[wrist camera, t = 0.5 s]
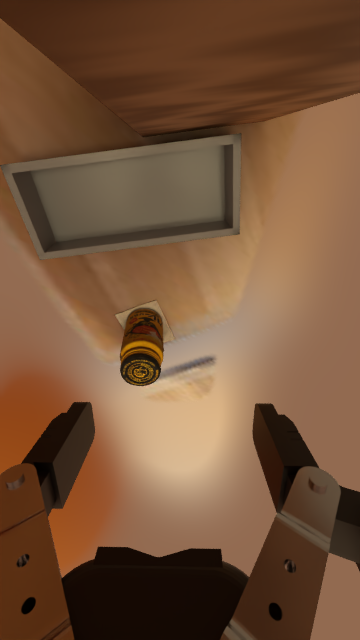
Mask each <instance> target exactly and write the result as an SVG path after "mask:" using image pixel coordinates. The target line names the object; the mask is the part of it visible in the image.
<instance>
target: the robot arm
mask: <svg viewBox="0 0 360 640" xmlns="http://www.w3.org/2000/svg"><path fill="white" fill-rule="evenodd" d="M94 434H95V426H94V419H93V412H92V405H91V403H90V402H74V403H73V404H72V405H71V407H70V408H69V410H68V411H67V413H61V414H60V415H58V416H57V417H56V418H55V419H53V420H52V421H51V423H50V424H49V426H48V427H47V428H46V430H45V431H44V432H43V434H42V435H41V438H39V439H38V441H37V442H36V443H35V445H34V446H33V448H32V449H31V450H30V452H29V453H28V455H27V456H26V457H25V459H24V460H23V461H22V463H21V464H19V465H15V466H13V467H11V468H9V469H7V470H6V471H4V472H3V473H2V474H1V475H0V640H310V636H311V632H312V628H313V623H314V618H315V614H316V609H317V604H318V600H319V595H320V590H321V585H322V581H323V576H324V572H325V567H326V562H327V557H328V553H332V554H335V555H338V556H340V557H343V558H346V559H348V560H351V561H354V562H356V564H357V566H358V569H359V571H360V492H358V491H354V490H351V489H347V488H344V487H342V486H340V485H338V483H337V481H336V480H335V479H334V478H333V477H332V476H331V475H330V474H329V473H327V472H326V471H324V470H322V469H320V468H319V467H318V465H317V463H316V461H315V460H314V458H313V456H312V454H311V453H310V451H309V449H308V447H307V446H306V444H305V442H304V441H303V439H302V437H301V435H300V433H298V430H297V428H296V426H295V425H294V423H293V422H292V421H291V420H290V419H289V418H288V417H286V416H285V415H278V414H277V412H276V410H275V408H274V406H273V404H255V410H254V421H253V440H254V445H255V448H256V451H257V454H258V457H259V460H260V463H261V466H262V469H263V472H264V475H265V478H266V481H267V485H268V487H269V490H270V494H271V497H272V500H273V503H274V506H275V509H276V512H277V515H276V517H275V519H274V522H273V524H272V526H271V529H270V531H269V533H268V535H267V538H266V540H265V542H264V545H263V547H262V549H261V552H260V554H259V557H258V559H257V561H256V563H255V566H254V568H253V570H252V573H251V575H250V577H248V576H247V575H246V574H245V573H244V572H242V571H241V570H239V569H238V568H236V567H235V566H233V565H231V564H229V563H226V562H224V561H222V555H221V549H188V550H184V551H180V552H177V553H174V554H170V555H167V556H163V557H154V556H151V555H149V554H146V553H142V552H140V551H137V550H134V549H131V548H128V547H98V549H97V552H96V556H95V559H93V560H90V561H88V562H85V563H83V564H81V565H80V566H78V567H76V568H74V569H73V570H72V571H70V572H69V573H68V574H66V575H65V576H64V577H63V578H62V577H61V573H60V568H59V564H58V560H57V555H56V551H55V547H54V542H53V538H52V534H51V529H50V525H49V521H48V516H49V514H50V512H51V510H52V508H55V509H62V508H63V506H64V504H65V502H66V500H67V498H68V495H69V493H70V491H71V489H72V486H73V484H74V482H75V480H76V478H77V476H78V473H79V471H80V469H81V467H82V464H83V462H84V460H85V458H86V456H87V453H88V451H89V449H90V447H91V444H92V442H93V439H94Z"/></svg>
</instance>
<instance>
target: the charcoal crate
mask: <svg viewBox="0 0 360 640" xmlns="http://www.w3.org/2000/svg"><path fill="white" fill-rule="evenodd" d="M0 166H1V169H2V171H3V173H4V176H5V178H6V181H7V183H8V185H9V188H10V190H11V192H12V195H13V197H14V199H15V202H16V204H17V206H18V209H19V211H20V214H21V216H22V218H23V221H24V223H25V225H26V228H27V230H28V232H29V235H30V237H31V239H32V242H33V244H34V247H35V249H36V251H37V254H38V256H39V258H40V260H44V259H51V258H59V257H67V256H75V255H82V254H90V253H98V252H106V251H114V250H121V249H129V248H137V247H145V246H152V245H160V244H168V243H176V242H183V241H191V240H199V239H207V238H214V237H222V236H230V235H238V234H240V177H241V133H240V134H232V135H225V136H217V137H209V138H202V139H194V140H187V141H179V142H172V143H164V144H156V145H149V146H141V147H134V148H126V149H119V150H111V151H103V152H96V153H88V154H81V155H73V156H65V157H58V158H50V159H43V160H35V161H28V162H20V163H12V164H5V165H0Z"/></svg>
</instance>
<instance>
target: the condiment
mask: <svg viewBox="0 0 360 640" xmlns="http://www.w3.org/2000/svg"><path fill="white" fill-rule="evenodd" d="M115 316H116V318H117V319H118V321H119V322H120V324H121V326H122V327H123V329H124V337H123V342H122V347H121V353H120V360H121V368H120V372H121V376H122V377H123V379H124V380H125V381H126V382H127V383H129V384H132V385H136V386H145V385H149V384H152V383H153V382H155V381H156V380H157V379H158V378H159V376H160V373H161V368H160V367H161V363H162V361H163V351H164V349H163V343H165V342H167V341H171V340H174V339H175V338H174V336H173V334H172V332H171V330H170V328H169V326H168V323H167V321H166V319H165V317H164V315H163V313H162V311H161V309H160V307H159V305H158V303H157V301H156V300H155V301H152V302H149V303H146V304H143V305H141V306H138V307H135V308H132V309H130V310H127V311H124V312H122V313H119V314H116V315H115Z"/></svg>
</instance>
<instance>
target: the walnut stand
mask: <svg viewBox="0 0 360 640" xmlns="http://www.w3.org/2000/svg"><path fill="white" fill-rule="evenodd" d="M0 18H1V19H2V20H3V21H5V22H6V23H7V24H8V25H9V26H11V27H12V28H13V29H14V30H15V31H17V32H18V33H19V34H20V35H21V36H23V37H24V38H25V39H26V40H27V41H29V42H30V43H31V44H32V45H33V46H35V47H36V48H37V49H38V50H39V51H41V52H42V53H43V54H44V55H45V56H47V57H48V58H49V59H50V60H51V61H53V62H54V63H55V64H56V65H57V66H59V67H60V68H61V69H62V70H63V71H65V72H66V73H67V74H68V75H69V76H71V77H72V78H73V79H74V80H75V81H76V82H78V83H79V84H80V85H81V86H82V87H84V88H85V89H86V90H87V91H88V92H90V93H91V94H92V95H93V96H94V97H96V98H97V99H98V100H99V101H100V102H102V103H103V104H104V105H105V106H106V107H108V108H109V109H110V110H111V111H112V112H114V113H115V114H116V115H117V116H118V117H120V118H121V119H122V120H123V121H124V122H126V123H127V124H128V125H129V126H130V127H132V128H133V129H134V130H135V131H136V132H138V133H139V134H140V135H141V136H142V137H148V136H155V135H163V134H170V133H178V132H186V131H193V130H201V129H208V128H216V127H223V126H231V125H238V124H246V123H254V122H261V121H266V120H270V119H273V118H276V117H280V116H283V115H287V114H290V113H293V112H297V111H300V110H303V109H307V108H310V107H313V106H317V105H320V104H323V103H327V102H330V101H333V100H337V99H340V98H343V97H347V96H350V95H353V94H357V93H360V0H0Z"/></svg>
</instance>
